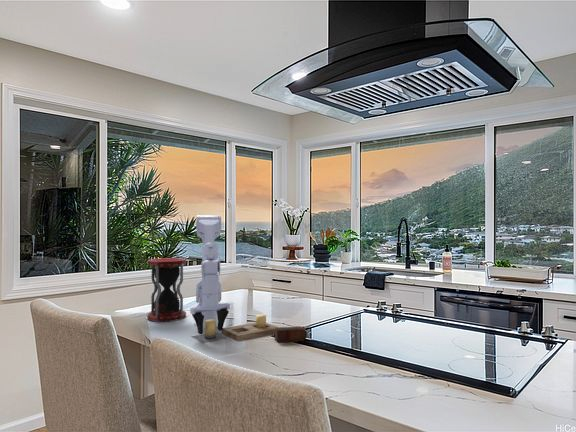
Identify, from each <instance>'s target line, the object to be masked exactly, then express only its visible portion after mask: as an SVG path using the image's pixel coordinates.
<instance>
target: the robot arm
mask: <svg viewBox="0 0 576 432" xmlns="http://www.w3.org/2000/svg"><path fill="white" fill-rule="evenodd" d="M195 220H196V222H195V223H196V227H195V228H196V235H197V236H196V237H199V238H200V239H201V241H202V248H201V249H202V250H201V251H202V252H201V254H202V257H201V258H202V260H201V262H200V263H201V264H200V265H201V266H200V268H201V269H200V270H201V271H200V273H201V279H200V280H199V281H198V282H197V283H196V288H195V302H196V303H197V305H196V306H194V307H190V309H189V313H190V314H191V315H192V318H193V320H194V321H195V322H194V323H193V325H194V326H196V327H197V332H198V335H201V334H204V330H205V320H209V319H214V320H216V328H217V330H218V331H221V332H222V329H223V328H224V324H225V321H226V318H228V317H227V316H229V310H230V309H231V304H230V303H228V302H225V303H220V302H221V301H222V284H221V282H220V277H219V276H220V274H221V261H220V257H219V247H218V246H217V244H215V240H216V239H217V238H218V237H220V234H221V232H222V231H221V230H222V216H221V215H219V214H218V215H199V214H198V215H196V219H195Z"/></svg>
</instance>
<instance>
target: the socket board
mask: <svg viewBox="0 0 576 432" xmlns="http://www.w3.org/2000/svg"><path fill="white" fill-rule="evenodd" d="M275 328H279V327H278V326H276V325H274V324H271V323H269V322H266V328H260V329H258V328H256V321H255V322H251V323H244V324H238V325H232V326H228V327H223V329H222V331H221V334H222V335H224V336H226V337H228V338H231V339H233V340H235V341H238V342H239V341H243V340H249V339H254V338H258V337H264V336H269V335H275Z"/></svg>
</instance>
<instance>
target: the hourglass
mask: <svg viewBox="0 0 576 432" xmlns="http://www.w3.org/2000/svg"><path fill="white" fill-rule="evenodd" d="M185 264H187V259H186V258H183V257H182V258H180V257H163V258H161V257H160V258H149V259H147V265H149V266H151V282H152V284H153V286H154V289H153V292H152V293H151V297H150V298H151V300H150V305H151V306H150V307H151V309H150V310H151V311H150V312H149V313H147V315H146V319H147V320H148V321H152V322H156V323H157V322H162V323H163V322H172V321H173V322H174V321H179V320H180V321H181V320H182V319H184V318H186V317H187V311H185V310H184V297H183V294H182V293H181V285H182V284H183V282H184V265H185ZM178 279H179V280H180V281H179V282H178V284H177V281H178ZM162 287H163V289H162ZM171 287H172V290H171ZM156 293H157V294H156ZM155 295H156V297H155Z"/></svg>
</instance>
